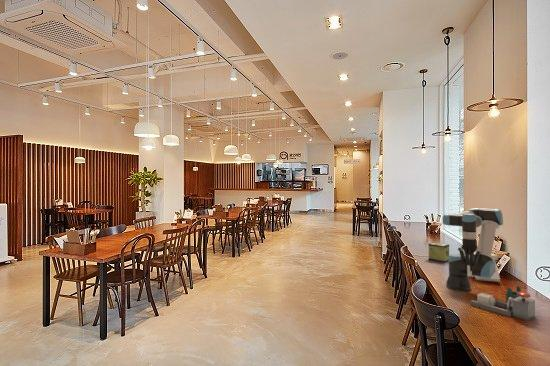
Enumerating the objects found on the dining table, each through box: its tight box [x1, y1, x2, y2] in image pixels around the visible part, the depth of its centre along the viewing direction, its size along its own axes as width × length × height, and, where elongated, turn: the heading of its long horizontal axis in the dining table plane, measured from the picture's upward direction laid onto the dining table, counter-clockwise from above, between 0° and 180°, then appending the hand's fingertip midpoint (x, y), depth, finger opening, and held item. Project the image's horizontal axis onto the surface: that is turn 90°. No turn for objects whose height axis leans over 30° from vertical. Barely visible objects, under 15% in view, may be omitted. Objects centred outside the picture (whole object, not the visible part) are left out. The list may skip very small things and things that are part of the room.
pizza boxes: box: [469, 251, 501, 283], centre depth 238 cm, size 19×30×18 cm, turn 157°
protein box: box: [428, 242, 450, 263], centre depth 294 cm, size 10×16×16 cm
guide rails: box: [470, 299, 513, 317], centre depth 181 cm, size 14×20×2 cm
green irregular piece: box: [505, 285, 522, 302], centre depth 190 cm, size 9×9×9 cm
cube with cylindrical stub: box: [476, 292, 496, 307], centre depth 184 cm, size 6×8×6 cm
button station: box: [506, 291, 536, 322], centre depth 170 cm, size 10×10×12 cm
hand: (469, 275), depth 192 cm, fingers closed
